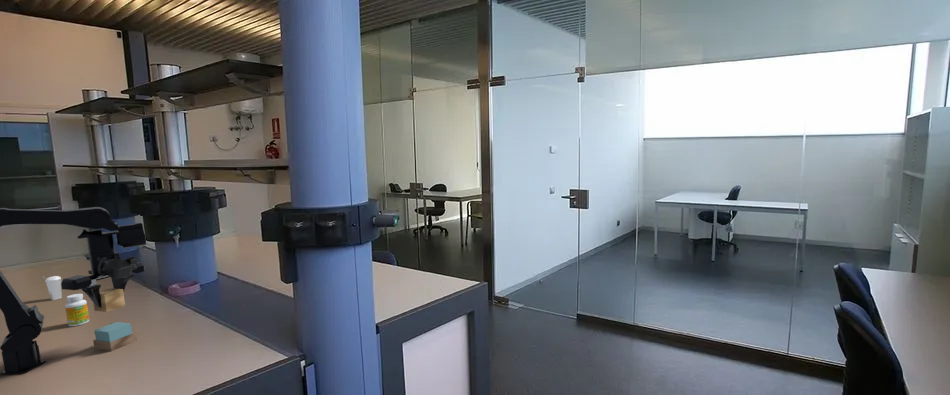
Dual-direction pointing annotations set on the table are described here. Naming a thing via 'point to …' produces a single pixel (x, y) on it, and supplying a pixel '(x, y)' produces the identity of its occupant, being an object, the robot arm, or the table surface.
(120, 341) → the tower base block
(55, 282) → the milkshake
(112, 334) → the tower top block
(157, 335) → the table surface
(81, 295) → the supplement bottle
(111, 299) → the oak cube
